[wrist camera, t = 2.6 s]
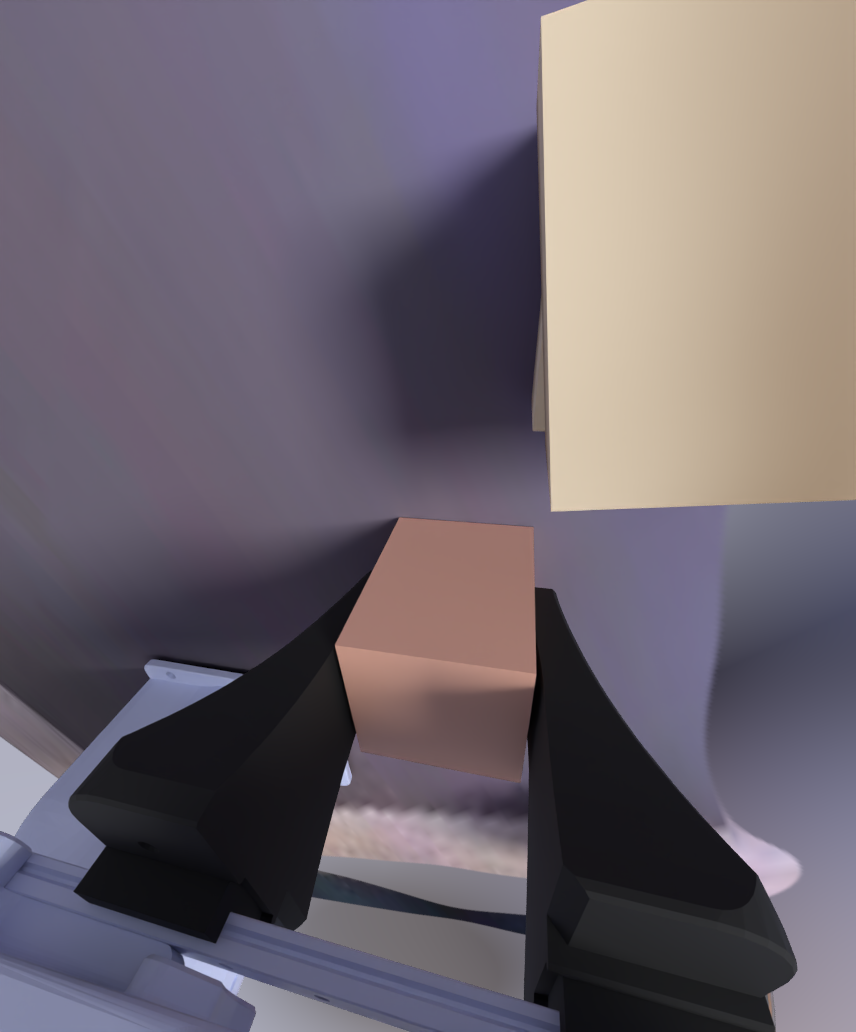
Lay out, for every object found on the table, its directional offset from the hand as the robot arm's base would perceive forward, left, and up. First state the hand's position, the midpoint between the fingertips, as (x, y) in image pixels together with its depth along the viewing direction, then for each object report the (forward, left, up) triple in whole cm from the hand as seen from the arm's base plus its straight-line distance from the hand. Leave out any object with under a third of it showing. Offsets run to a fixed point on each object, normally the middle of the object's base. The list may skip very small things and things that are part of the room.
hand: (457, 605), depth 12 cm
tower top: (+4, +8, +1) cm, 9 cm away
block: (0, 0, -1) cm, 1 cm away
